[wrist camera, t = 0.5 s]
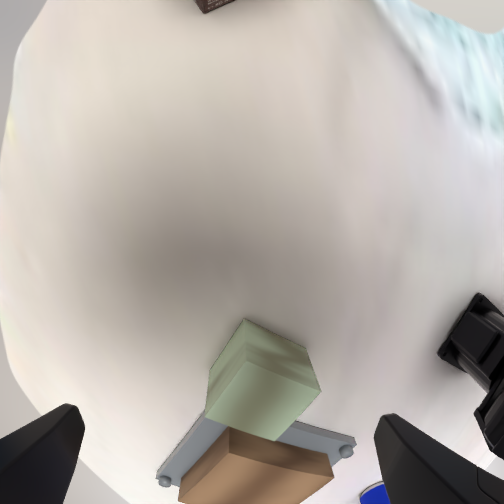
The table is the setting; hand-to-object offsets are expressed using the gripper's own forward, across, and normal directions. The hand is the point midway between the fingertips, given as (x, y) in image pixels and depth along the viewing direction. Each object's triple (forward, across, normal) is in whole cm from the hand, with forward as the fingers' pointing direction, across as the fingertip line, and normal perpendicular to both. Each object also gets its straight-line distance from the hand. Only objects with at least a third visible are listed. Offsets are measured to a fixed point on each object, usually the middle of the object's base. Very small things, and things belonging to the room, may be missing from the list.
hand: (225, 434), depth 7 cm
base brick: (+13, -1, +18) cm, 22 cm away
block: (+13, -2, +6) cm, 14 cm away
